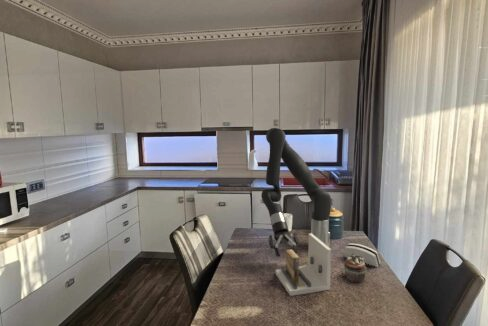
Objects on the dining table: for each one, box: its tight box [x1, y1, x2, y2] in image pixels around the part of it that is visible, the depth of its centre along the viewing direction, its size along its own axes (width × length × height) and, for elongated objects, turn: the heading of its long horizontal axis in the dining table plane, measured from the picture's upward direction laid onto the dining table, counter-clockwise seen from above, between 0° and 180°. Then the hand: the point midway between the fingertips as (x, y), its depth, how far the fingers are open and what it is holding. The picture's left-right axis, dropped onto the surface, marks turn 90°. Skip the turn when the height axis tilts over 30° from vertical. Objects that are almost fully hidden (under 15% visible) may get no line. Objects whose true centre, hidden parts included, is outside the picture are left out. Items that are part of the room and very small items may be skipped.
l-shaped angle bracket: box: [275, 232, 332, 297], centre depth 130 cm, size 18×18×18 cm
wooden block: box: [285, 248, 300, 279], centre depth 132 cm, size 3×9×10 cm, turn 14°
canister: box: [329, 207, 345, 240], centre depth 180 cm, size 13×13×18 cm
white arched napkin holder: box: [344, 243, 381, 268], centre depth 148 cm, size 17×5×10 cm, turn 47°
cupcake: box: [344, 254, 368, 283], centre depth 133 cm, size 10×10×10 cm
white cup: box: [283, 212, 293, 232], centre depth 191 cm, size 8×8×10 cm
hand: (287, 255), depth 139 cm, fingers open, 8 cm apart
